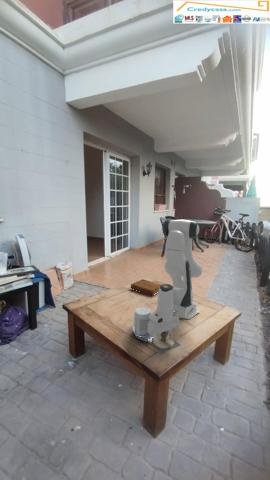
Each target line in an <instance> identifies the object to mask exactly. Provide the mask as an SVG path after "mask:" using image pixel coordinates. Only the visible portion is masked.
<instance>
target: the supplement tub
mask: <svg viewBox="0 0 270 480" xmlns="http://www.w3.org/2000/svg"><path fill="white" fill-rule="evenodd" d="M151 312H152V311H151V309H150V308H147V307H137V308H136V309H135V310H134V326H133V327H134V330H133V333H135V334H136V335H137V336H141V337H146V338H148V337H150V336H151V335H150V334H149V333H148V322H149V320H150V319H149V315H150V314H152V313H151ZM135 334H134V335H135ZM136 335H135V336H136ZM137 336H136V337H137ZM147 336H148V337H147Z"/></svg>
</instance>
